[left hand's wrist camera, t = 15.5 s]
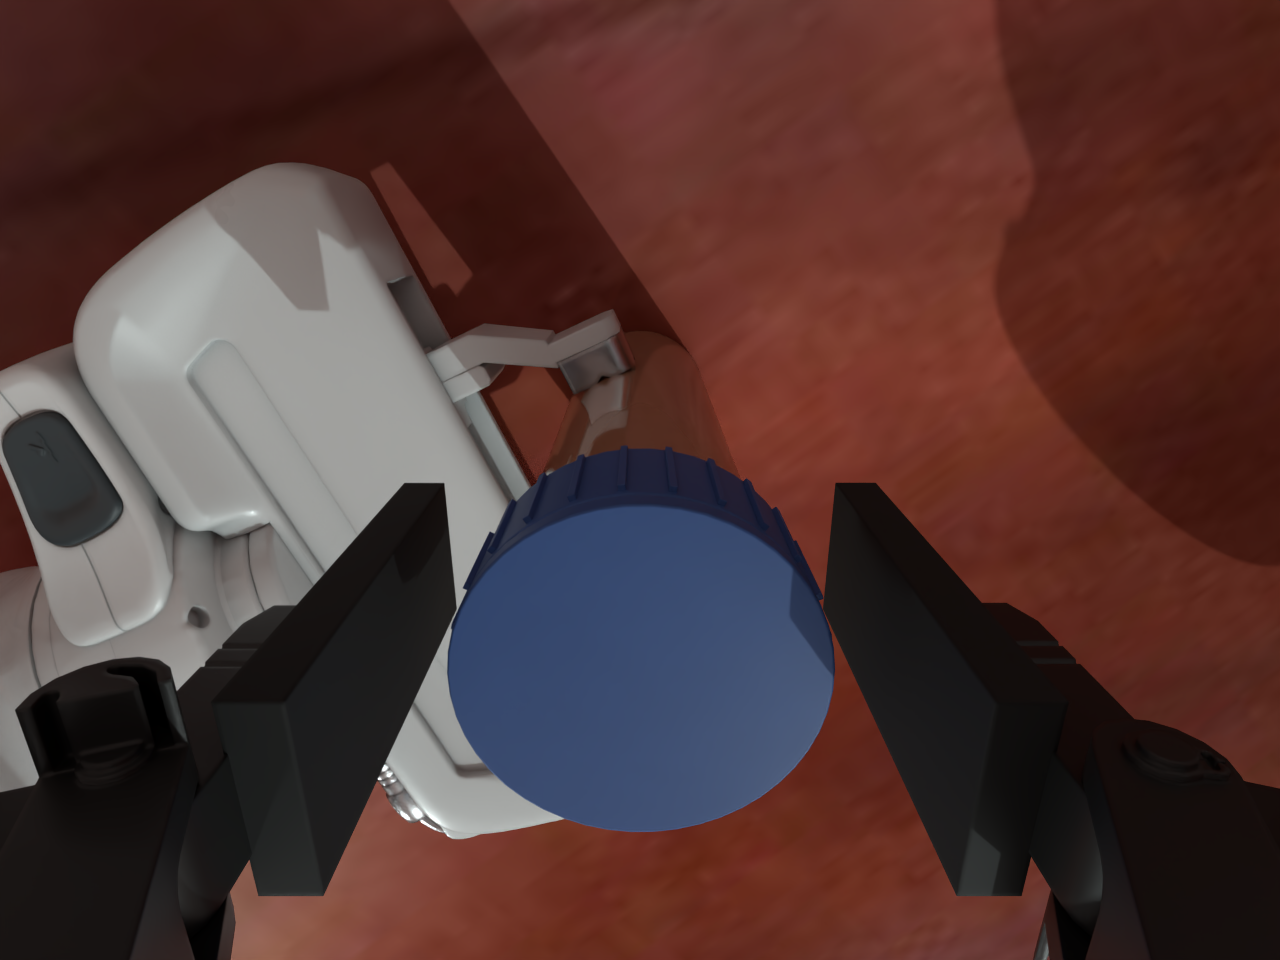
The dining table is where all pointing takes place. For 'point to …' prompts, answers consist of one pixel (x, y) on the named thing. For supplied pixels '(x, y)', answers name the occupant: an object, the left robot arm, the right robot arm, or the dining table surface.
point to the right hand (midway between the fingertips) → (669, 432)
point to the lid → (640, 644)
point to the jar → (644, 409)
